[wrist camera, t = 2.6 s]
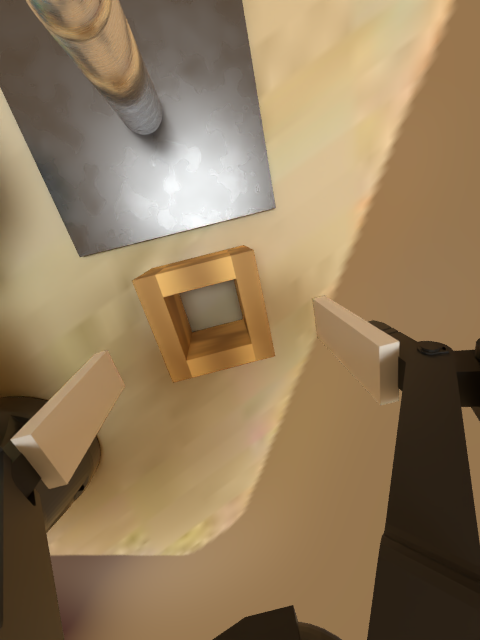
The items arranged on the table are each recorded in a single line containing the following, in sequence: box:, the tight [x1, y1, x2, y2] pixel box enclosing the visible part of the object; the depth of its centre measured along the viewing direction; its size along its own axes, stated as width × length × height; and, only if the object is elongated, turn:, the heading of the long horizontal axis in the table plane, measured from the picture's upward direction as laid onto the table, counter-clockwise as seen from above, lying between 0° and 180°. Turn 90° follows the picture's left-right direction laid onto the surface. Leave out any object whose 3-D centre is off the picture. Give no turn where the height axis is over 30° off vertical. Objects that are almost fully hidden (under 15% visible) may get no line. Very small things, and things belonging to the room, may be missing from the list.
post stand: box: [0, 0, 276, 257], centre depth 13 cm, size 18×18×12 cm
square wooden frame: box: [132, 245, 275, 383], centre depth 22 cm, size 9×9×6 cm
